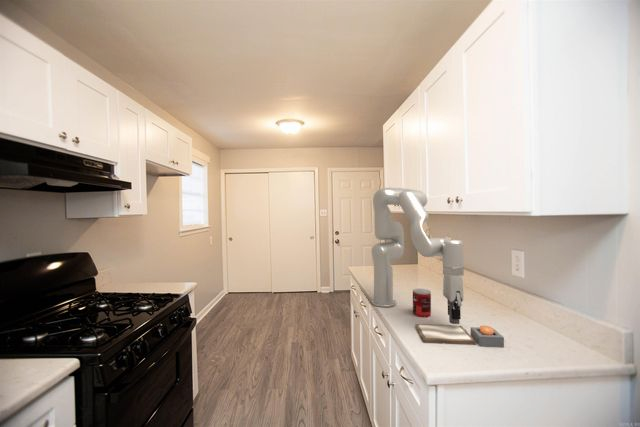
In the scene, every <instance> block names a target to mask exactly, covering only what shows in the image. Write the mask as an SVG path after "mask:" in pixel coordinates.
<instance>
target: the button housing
mask: <svg viewBox="0 0 640 427" xmlns="http://www.w3.org/2000/svg"><path fill="white" fill-rule="evenodd" d="M493 329H494V335H482V334H481V333H480V326H479V327H477V326H476V327H473V326H472V327H470V336H471V337H472V338H473V339H474V340H475V341H476V344H478V346H479V347H489V348H494V347H495V348H505V337H504V336H503V335H502V334H501V333H499V331H497V330H496V329H495V328H493Z"/></svg>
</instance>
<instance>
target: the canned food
mask: <svg viewBox="0 0 640 427" xmlns="http://www.w3.org/2000/svg"><path fill="white" fill-rule="evenodd" d="M412 314H413V315H414V316H416V317H419V318H429V317H431V314H432V292H431V291H430V290H429V289H427V288H415V289H414V288H413V289H412Z"/></svg>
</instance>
